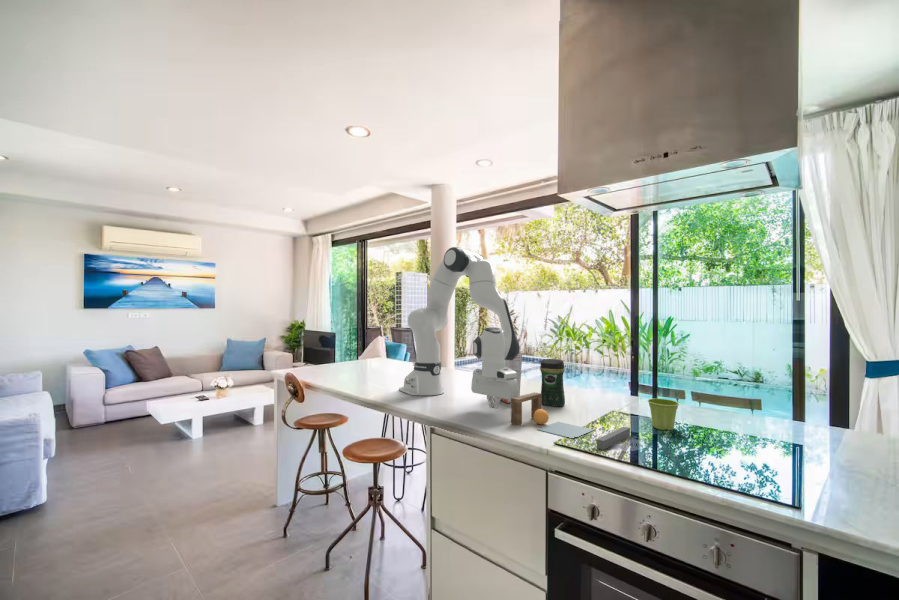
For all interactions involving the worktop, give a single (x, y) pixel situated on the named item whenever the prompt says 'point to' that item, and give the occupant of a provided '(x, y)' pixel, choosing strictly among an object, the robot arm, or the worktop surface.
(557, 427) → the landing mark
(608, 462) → the worktop surface
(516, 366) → the cracker box
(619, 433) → the wall
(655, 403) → the plant pot
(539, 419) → the ball
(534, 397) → the bridge
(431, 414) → the worktop surface
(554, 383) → the coffee jar
